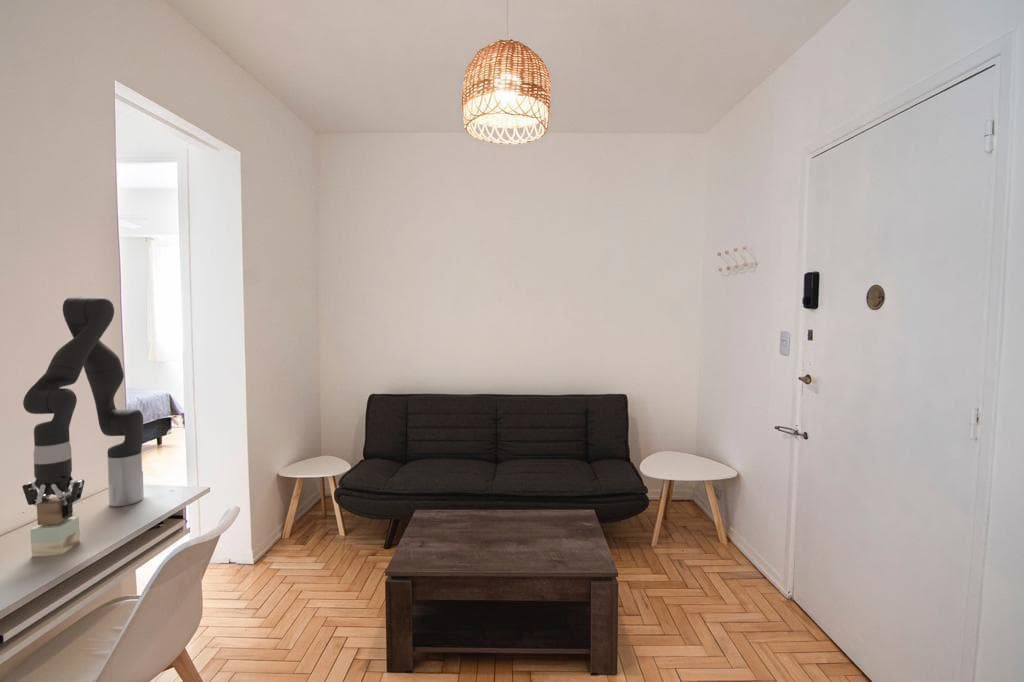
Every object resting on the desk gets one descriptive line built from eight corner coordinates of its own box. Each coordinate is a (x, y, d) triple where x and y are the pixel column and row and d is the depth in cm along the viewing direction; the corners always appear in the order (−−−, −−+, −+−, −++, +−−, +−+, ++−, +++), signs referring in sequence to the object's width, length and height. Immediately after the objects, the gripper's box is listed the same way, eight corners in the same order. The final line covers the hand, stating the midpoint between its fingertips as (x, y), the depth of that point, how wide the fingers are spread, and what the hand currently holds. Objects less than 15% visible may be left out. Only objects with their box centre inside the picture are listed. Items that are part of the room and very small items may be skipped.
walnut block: (52, 517, 132) (51, 497, 131) (72, 516, 133) (71, 496, 132) (37, 525, 127) (36, 504, 126) (58, 524, 128) (57, 503, 127)
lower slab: (52, 544, 133) (51, 531, 133) (79, 543, 134) (79, 529, 134) (31, 557, 126) (31, 543, 126) (61, 555, 127) (60, 541, 127)
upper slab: (51, 531, 133) (51, 518, 133) (79, 529, 134) (78, 516, 134) (30, 543, 126) (30, 529, 126) (60, 541, 127) (59, 527, 127)
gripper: (91, 453, 134) (93, 510, 135) (34, 455, 131) (37, 513, 132) (72, 461, 126) (74, 521, 127) (11, 464, 124) (13, 525, 125)
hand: (55, 517), depth 130 cm, fingers closed on walnut block, 5 cm apart
